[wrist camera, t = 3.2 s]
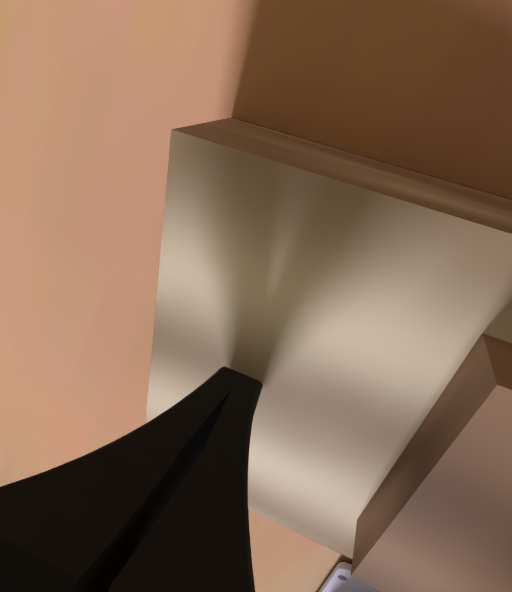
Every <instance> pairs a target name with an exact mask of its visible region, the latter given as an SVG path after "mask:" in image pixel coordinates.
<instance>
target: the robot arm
mask: <svg viewBox="0 0 512 592" xmlns="http://www.w3.org/2000/svg"><path fill="white" fill-rule="evenodd" d="M262 387H263V385H262V383H261V381H259V380H256V379H254V378H252V377H249V376H247V375H244V374H242V373H239V372H237V371H235V370H232V369H230V368H227V367H225V366H224V367H221V368H220V369H219V370H218V371H217V372H216V373H214V374H213V375H212V376H211V377H210V378H209V379H208V380H206V381H205V382H204V383H203V384H201V385H200V386H199V387H198V388H196V389H195V390H194V391H193V392H191V393H190V394H189V395H187V396H186V397H184V398H183V399H182V400H180V401H179V402H178V403H176V404H175V405H174V406H172V407H171V408H169V409H168V410H166V411H165V412H163V413H161V414H160V415H158V416H157V417H155V418H154V419H152V420H151V421H149V422H147V423H146V424H144V425H142V426H141V427H139V428H137V429H136V430H134V431H132V432H130V433H128V434H127V435H125V436H123V437H121V438H119V439H117V440H115V441H113V442H111V443H109V444H107V445H105V446H103V447H101V448H99V449H97V450H95V451H93V452H91V453H89V454H86V455H84V456H82V457H80V458H77V459H75V460H72V461H70V462H67V463H65V464H63V465H60V466H58V467H55V468H53V469H50V470H48V471H45V472H43V473H40V474H37V475H34V476H31V477H28V478H25V479H22V480H19V481H16V482H13V483H10V484H7V485H4V486H1V487H0V592H255V586H254V578H253V569H252V559H251V546H250V534H249V517H248V463H249V447H250V438H251V429H252V422H253V416H254V413H255V410H256V406H257V403H258V400H259V397H260V393H261V390H262ZM351 567H352V565H351V564H349V563H346V562H340V563H338V564H337V566H336V567H335V569H334V570H333V572H332V573H331V574H330V576H329V577H328V579H327V580H326V581H325V583H324V584H323V586H322V587H321V589H320V590H319V591H318V592H382V591H380V590H378V589H376V588H374V587H372V586H370V585H368V584H366V583H363V582H361V581H359V580H357V579H355V578H353V577H351V576H350V575H351Z"/></svg>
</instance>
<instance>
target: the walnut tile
mask: <svg viewBox="0 0 512 592" xmlns="http://www.w3.org/2000/svg"><path fill="white" fill-rule="evenodd" d="M350 576H351V577H353V578H355V579H357V580H359V581H361V582H363V583H366V584H368V585H370V586H372V587H374V588H376V589H378V590H380V591H382V592H512V343H509V342H506V341H503V340H501V339H498V338H495V337H492V336H489V335H486V334H484V333H482V334H481V336H480V337H479V339H478V340H477V341H476V343H475V344H474V346H473V347H472V349H471V350H470V352H469V353H468V355H467V356H466V358H465V359H464V361H463V362H462V364H461V365H460V367H459V368H458V370H457V371H456V373H455V374H454V376H453V377H452V379H451V380H450V382H449V383H448V385H447V386H446V388H445V389H444V391H443V392H442V394H441V395H440V397H439V398H438V400H437V401H436V403H435V404H434V406H433V407H432V409H431V410H430V412H429V413H428V415H427V416H426V418H425V419H424V421H423V422H422V424H421V425H420V427H419V428H418V430H417V431H416V432H415V434H414V435H413V437H412V438H411V440H410V441H409V443H408V444H407V446H406V447H405V449H404V450H403V452H402V453H401V455H400V456H399V458H398V459H397V461H396V462H395V464H394V465H393V467H392V468H391V470H390V471H389V473H388V474H387V476H386V477H385V479H384V480H383V482H382V483H381V485H380V486H379V488H378V489H377V491H376V492H375V494H374V495H373V497H372V498H371V500H370V501H369V503H368V504H367V506H366V507H365V509H364V510H363V512H362V513H361V515H360V516H359V518H358V519H357V525H356V533H355V542H354V550H353V558H352V567H351V575H350Z"/></svg>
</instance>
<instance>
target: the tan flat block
mask: <svg viewBox="0 0 512 592" xmlns="http://www.w3.org/2000/svg"><path fill="white" fill-rule="evenodd" d="M482 333H484V334H486V335H489V336H492V337H495V338H498V339H501V340H503V341H506V342H509V343H512V200H511V199H507V198H504V197H500V196H497V195H494V194H490V193H487V192H483V191H480V190H476V189H473V188H470V187H466V186H463V185H459V184H456V183H453V182H449V181H446V180H442V179H439V178H435V177H432V176H429V175H425V174H422V173H418V172H415V171H412V170H408V169H405V168H401V167H398V166H394V165H391V164H388V163H384V162H381V161H377V160H374V159H370V158H367V157H364V156H360V155H357V154H353V153H350V152H347V151H343V150H340V149H336V148H333V147H329V146H326V145H323V144H319V143H316V142H312V141H309V140H305V139H302V138H299V137H295V136H292V135H288V134H285V133H282V132H278V131H275V130H271V129H268V128H264V127H261V126H258V125H254V124H251V123H247V122H244V121H241V120H237V119H234V118H227V119H222V120H217V121H212V122H207V123H202V124H197V125H192V126H187V127H181V128H176V129H171V141H170V152H169V163H168V174H167V186H166V197H165V208H164V220H163V231H162V242H161V253H160V265H159V276H158V287H157V299H156V310H155V321H154V333H153V344H152V355H151V366H150V378H149V389H148V400H147V412H146V423H147V422H149V421H151V420H152V419H154V418H155V417H157V416H158V415H160V414H161V413H163V412H165V411H166V410H168V409H169V408H171V407H172V406H174V405H175V404H176V403H178V402H179V401H180V400H182V399H183V398H184V397H186V396H187V395H189V394H190V393H191V392H193V391H194V390H195V389H196V388H198V387H199V386H200V385H201V384H203V383H204V382H205V381H206V380H208V379H209V378H210V377H211V376H212V375H213V374H214V373H216V372H217V371H218V370H219V369H220V368H221V367H224V366H225V367H227V368H230V369H232V370H235V371H237V372H239V373H242V374H244V375H247V376H249V377H252V378H254V379H256V380H259V381H261V383H262V385H263V387H262V390H261V393H260V397H259V400H258V403H257V406H256V410H255V413H254V416H253V422H252V429H251V438H250V447H249V463H248V510H250V511H252V512H254V513H257V514H259V515H261V516H263V517H265V518H267V519H269V520H271V521H273V522H275V523H277V524H280V525H282V526H284V527H286V528H288V529H290V530H292V531H294V532H296V533H298V534H300V535H303V536H305V537H307V538H309V539H311V540H313V541H315V542H317V543H319V544H321V545H323V546H326V547H328V548H330V549H332V550H334V551H336V552H338V553H340V554H342V555H344V556H346V557H348V558H351V559H352V558H353V550H354V542H355V533H356V525H357V519H358V518H359V516H360V515H361V513H362V512H363V510H364V509H365V507H366V506H367V504H368V503H369V501H370V500H371V498H372V497H373V495H374V494H375V492H376V491H377V489H378V488H379V486H380V485H381V483H382V482H383V480H384V479H385V477H386V476H387V474H388V473H389V471H390V470H391V468H392V467H393V465H394V464H395V462H396V461H397V459H398V458H399V456H400V455H401V453H402V452H403V450H404V449H405V447H406V446H407V444H408V443H409V441H410V440H411V438H412V437H413V435H414V434H415V432H416V431H417V430H418V428H419V427H420V425H421V424H422V422H423V421H424V419H425V418H426V416H427V415H428V413H429V412H430V410H431V409H432V407H433V406H434V404H435V403H436V401H437V400H438V398H439V397H440V395H441V394H442V392H443V391H444V389H445V388H446V386H447V385H448V383H449V382H450V380H451V379H452V377H453V376H454V374H455V373H456V371H457V370H458V368H459V367H460V365H461V364H462V362H463V361H464V359H465V358H466V356H467V355H468V353H469V352H470V350H471V349H472V347H473V346H474V344H475V343H476V341H477V340H478V339H479V337H480V336H481V334H482ZM146 423H145V424H146Z"/></svg>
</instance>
